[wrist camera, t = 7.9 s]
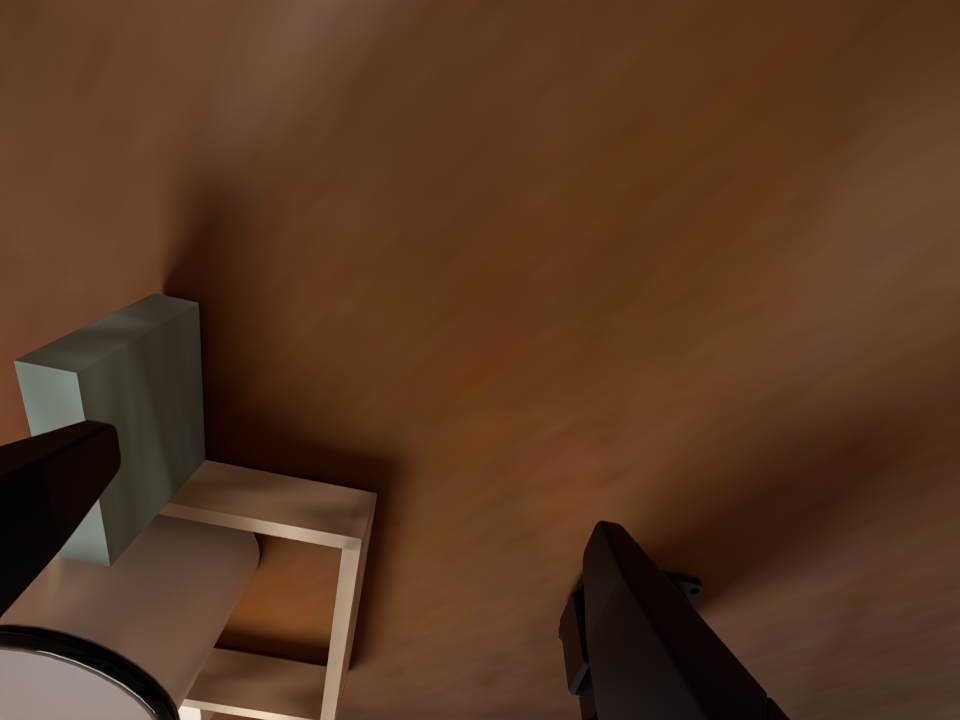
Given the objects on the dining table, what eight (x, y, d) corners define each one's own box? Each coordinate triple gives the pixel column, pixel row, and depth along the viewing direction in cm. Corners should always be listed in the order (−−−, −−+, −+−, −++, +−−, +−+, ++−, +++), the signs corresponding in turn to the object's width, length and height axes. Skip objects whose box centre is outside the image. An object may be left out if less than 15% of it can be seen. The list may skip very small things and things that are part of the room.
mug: (151, 438, 23) (-34, 601, 15) (305, 541, 26) (218, 727, 18) (50, 555, 27) (-139, 735, 19) (193, 635, 30) (81, 822, 22)
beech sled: (401, 346, 20) (362, 431, 15) (347, 678, 31) (312, 803, 25) (40, 268, 19) (-151, 326, 14) (111, 638, 30) (19, 758, 24)
